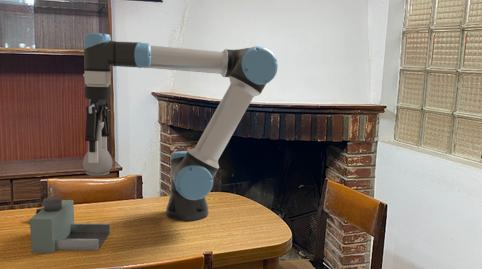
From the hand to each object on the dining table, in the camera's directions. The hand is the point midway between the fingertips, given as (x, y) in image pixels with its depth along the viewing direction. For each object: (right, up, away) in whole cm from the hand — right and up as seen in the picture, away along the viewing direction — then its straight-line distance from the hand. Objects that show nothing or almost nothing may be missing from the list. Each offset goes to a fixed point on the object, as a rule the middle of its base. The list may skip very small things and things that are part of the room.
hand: (97, 159), depth 139 cm
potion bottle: (0, -4, +1) cm, 4 cm away
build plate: (-23, -22, +15) cm, 35 cm away
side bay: (-3, -25, -2) cm, 25 cm away
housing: (-12, -24, -3) cm, 28 cm away
